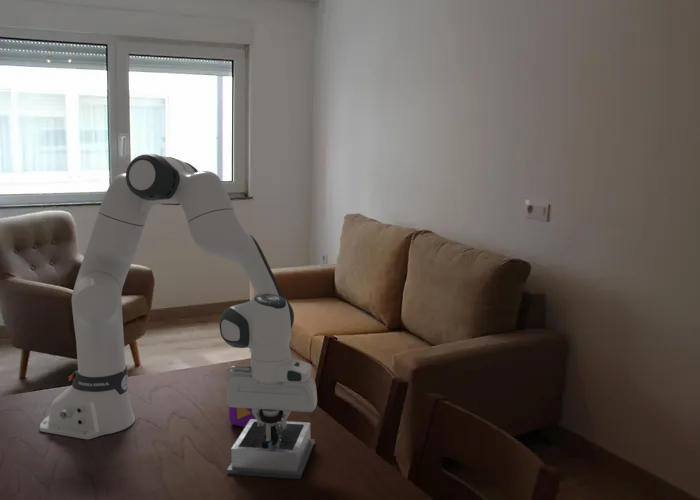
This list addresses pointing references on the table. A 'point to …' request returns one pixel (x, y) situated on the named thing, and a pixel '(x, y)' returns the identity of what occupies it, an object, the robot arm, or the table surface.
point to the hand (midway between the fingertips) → (271, 426)
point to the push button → (271, 427)
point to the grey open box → (272, 451)
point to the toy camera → (240, 416)
